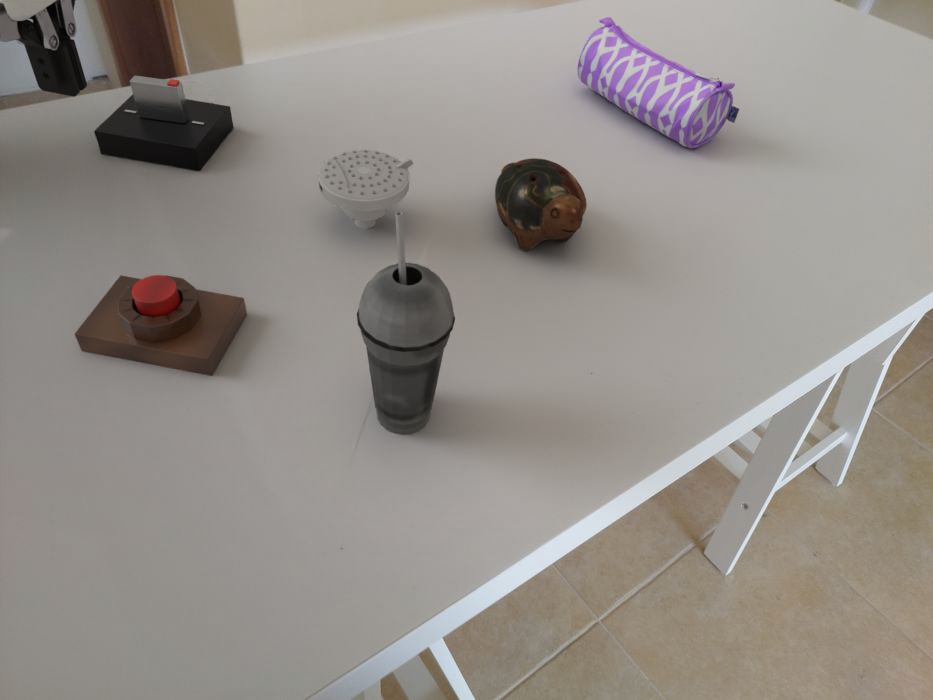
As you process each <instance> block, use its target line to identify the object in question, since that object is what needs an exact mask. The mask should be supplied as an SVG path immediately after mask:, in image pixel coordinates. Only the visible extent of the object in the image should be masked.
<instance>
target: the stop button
mask: <svg viewBox="0 0 933 700" xmlns="http://www.w3.org/2000/svg"><path fill="white" fill-rule="evenodd" d="M167 276H168V275H167ZM167 276H164V275H163V274H162V275H161V274H155V275H149V276H146V277H143V278H140V279H141V280H140V281H138V282H137V283H136V284H135V285H134V287H133V289H132V295H133V298H134V301H135V304H136V307H137V310H138V311H139V312H140V313H141V314H142V315H144V316H148V317H158V316H164V315H168V314H170V313H171V312H173V311H175V310H176V309H177V308H178V306H179V304H180V297H179V293H178V290H177V286H176V283H175V281H174V280H173V279H171V278H169V277H167Z"/></svg>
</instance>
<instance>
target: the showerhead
mask: <svg viewBox="0 0 933 700" xmlns="http://www.w3.org/2000/svg"><path fill="white" fill-rule="evenodd" d="M413 165H414V161H413V160H412V159H411V158H407V159H405V160H403V161H401V160H400V159H399V158H397V157H395V156H394V155H392V154H389V153H386V152H383V151H378V150H372V149H354V150H347V151H343V152H339V153H337V154H333V155H332V156H331V157H329V158H327V159H326V160H324V161H323V162H322V164H321V165H320V167H319V168H318V171H317V179H318V189H319V191H320V193H321V195H322V196H323V198H324V199H326V200H327V201H328V202H330V203H332V204H333V205H335V206H337V207H340V208H342V211H343V213H344V214H345V215H346V216H347V217H349V218H351V219H352V220H354V224H355V226H356V227H358V228H359V229H365V230H367V229H372V228H373V227H375V225H376V220H377V219H380V218H381V217H383V216H384V215H385V214H387V213H386V212H387V210H388V208H391V207H393V206H395V205H397V204H398V203H400V202H401V201H403V200H404V198H406V196H407V195H408V192H409V190H410V180H411V179H410V178H411V174H410V171H409V168H410V167H411V166H413Z"/></svg>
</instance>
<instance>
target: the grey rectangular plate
mask: <svg viewBox="0 0 933 700" xmlns="http://www.w3.org/2000/svg"><path fill="white" fill-rule="evenodd" d="M129 84H130V85H129V86H130V88H131V92H132V95H133V96H134V100H135V104H136V108H137V111H138V115H139V117H141V118H148V119H155V120H162V121H170V122H177V123H186V121H187V120H188V119H189V114H188V110H187V105H186V100H185V99H186V94H185V92H184V86H183V82H182V81H180V80H179V79H175V78H174V79H173V78H169V79H163V78H155V77H148V76H141V75H134V76H133V77H132V78H131V79H130V80H129Z"/></svg>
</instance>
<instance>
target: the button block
mask: <svg viewBox="0 0 933 700" xmlns="http://www.w3.org/2000/svg"><path fill="white" fill-rule="evenodd" d="M163 276H167V277H169V278H171V279H173V280H174V281H175V283H176V286H177V290H178V293H179V297H180V304H179V306H178V308H177V309H176V310H175V311H173V312H171V313H170V314H168V315H164V316H158V317H148V316H144V315H142V314H141V313H140V312H139V311H138V310H137V307H136V304H135V301H134V298H133V295H132V289H133V287H134V285H135V284H136V283H137V282H138V281H140V280H141V279H142V278H136V277H132V276H127V275H119V277H118V278H117V279H116V280H115V282H114V283H113V284H112V286H111V287H109V289H108V290H107V292H106V293H105V295H104V296H103V297H102V298H101V300H100V301H99V302H98V303H97V304H96V306H95V307H94V308H93V310H92V311H91V312H90V313H89V315H88V316H87V317H86V318H85V320H84V321H83V322H82V323H81V325H80V326H79V327H78V329H77V330H76V331H75V332H74V337H75V340H76V341H77V344H78V347H79V348H80V351H81V352H84V353H90V354H94V355H100V356H106V357H110V358H116V359H121V360H126V361H131V362H137V363H142V364H148V365H153V366H157V367H162V368H168V369H172V370H173V369H174V370H178V371H183V372H189V373H193V374H194V373H195V374H199V375H205V376H209V377H213V376H214V374H215V372H216V370H217V369H218V367H219V365H220V364H221V361H222V360H223V358H224V356H225V354H226V353H227V351H228V349H229V348H230V346H231V344H232V342H233V341H234V339H235V337H236V335H237V334H238V331H239V330H240V328H241V327H242V325H243V323H244V321H245V320H246V318H247V316H248V313H247V306H246V302H245V301H246V300H245V298H244V297H240V296H235V295H229V294H225V293H224V294H223V293H219V292H213V291H208V290H202V289H197V288H196V287H195V286H194V285H192V284H191V283H190V282H188V281H187V280H186V279H185V278H182V277H178V276H177V277H176V276H173V275H163Z"/></svg>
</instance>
